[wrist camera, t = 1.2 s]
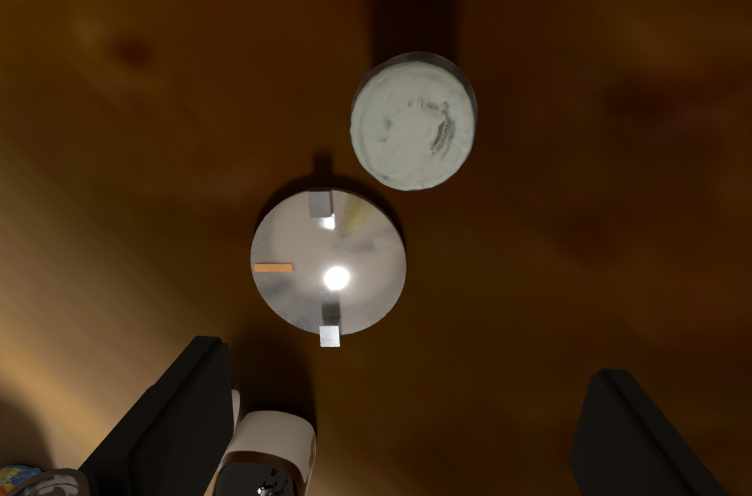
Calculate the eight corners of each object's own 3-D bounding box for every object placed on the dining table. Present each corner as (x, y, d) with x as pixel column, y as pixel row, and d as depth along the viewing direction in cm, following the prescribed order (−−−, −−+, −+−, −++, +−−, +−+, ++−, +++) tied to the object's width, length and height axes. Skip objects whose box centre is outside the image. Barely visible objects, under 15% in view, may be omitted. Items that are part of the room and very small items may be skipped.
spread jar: (315, 478, 45) (287, 600, 34) (210, 463, 45) (149, 581, 34) (323, 385, 41) (294, 491, 30) (207, 370, 41) (137, 470, 30)
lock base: (405, 182, 34) (405, 190, 31) (406, 330, 38) (406, 347, 36) (245, 185, 35) (233, 193, 32) (265, 329, 39) (255, 346, 37)
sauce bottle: (472, 115, 32) (571, 146, 13) (410, 173, 33) (420, 272, 15) (413, 46, 30) (430, -29, 12) (351, 109, 32) (282, 132, 13)
